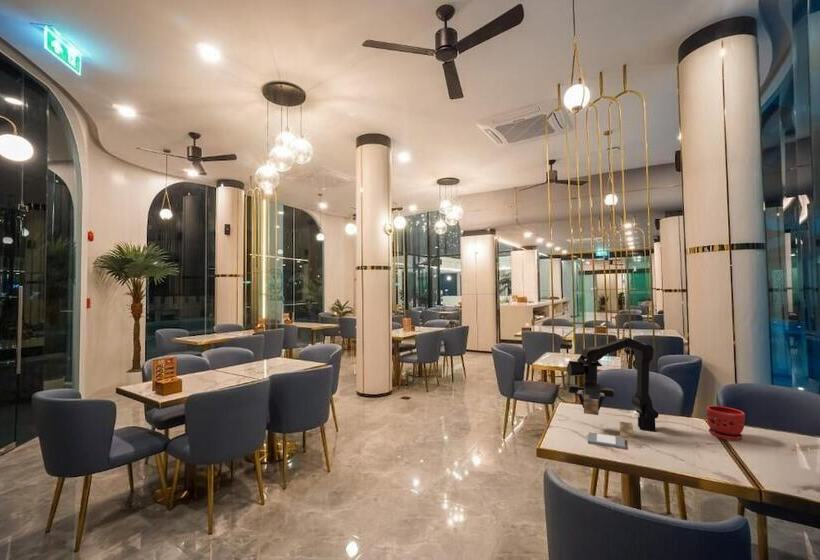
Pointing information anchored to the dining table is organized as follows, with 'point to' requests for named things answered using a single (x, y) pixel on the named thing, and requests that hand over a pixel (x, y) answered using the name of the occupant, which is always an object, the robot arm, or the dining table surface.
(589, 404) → the walnut block
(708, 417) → the plant pot
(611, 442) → the base board
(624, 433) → the maple cube
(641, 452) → the dining table surface
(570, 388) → the robot arm
